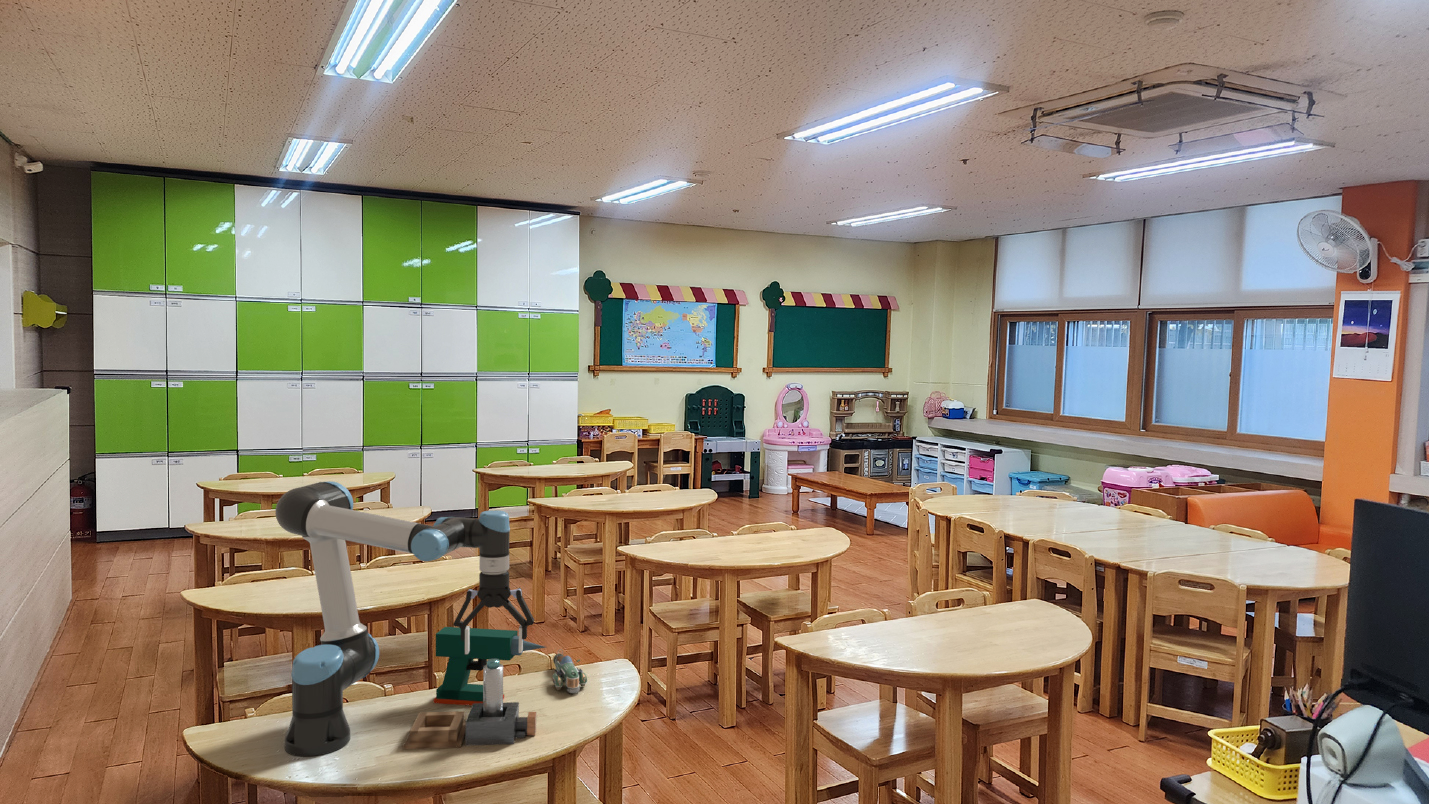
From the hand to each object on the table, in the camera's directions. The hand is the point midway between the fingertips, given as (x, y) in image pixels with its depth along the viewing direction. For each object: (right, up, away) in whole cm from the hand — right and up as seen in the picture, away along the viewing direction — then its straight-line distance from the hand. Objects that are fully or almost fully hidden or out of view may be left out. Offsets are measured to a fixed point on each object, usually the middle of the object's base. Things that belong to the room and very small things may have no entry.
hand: (494, 652), depth 226 cm
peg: (-1, -22, +1) cm, 22 cm away
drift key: (+6, -22, +2) cm, 23 cm away
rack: (-15, -22, 0) cm, 26 cm away
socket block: (+1, -22, +1) cm, 22 cm away
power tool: (-6, -21, +23) cm, 31 cm away
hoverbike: (+12, -21, +40) cm, 46 cm away
